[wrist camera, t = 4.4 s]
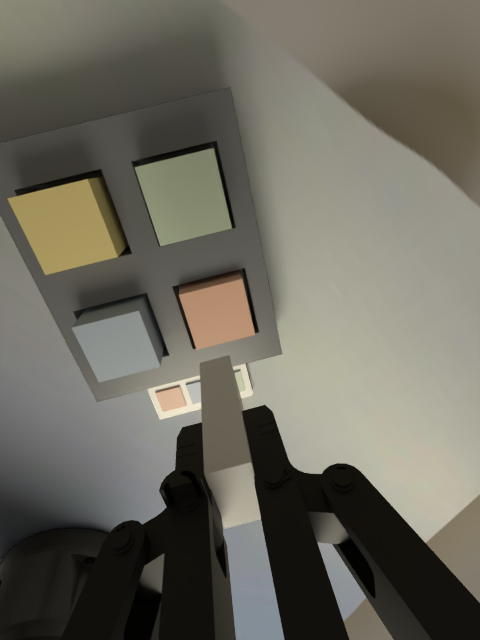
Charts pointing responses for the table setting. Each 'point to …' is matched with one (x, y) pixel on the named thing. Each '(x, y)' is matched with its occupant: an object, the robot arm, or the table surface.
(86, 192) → the key mustard
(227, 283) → the key terracotta
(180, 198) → the key sage
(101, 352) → the key slate
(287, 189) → the table surface
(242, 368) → the card
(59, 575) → the robot arm
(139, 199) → the keypad
